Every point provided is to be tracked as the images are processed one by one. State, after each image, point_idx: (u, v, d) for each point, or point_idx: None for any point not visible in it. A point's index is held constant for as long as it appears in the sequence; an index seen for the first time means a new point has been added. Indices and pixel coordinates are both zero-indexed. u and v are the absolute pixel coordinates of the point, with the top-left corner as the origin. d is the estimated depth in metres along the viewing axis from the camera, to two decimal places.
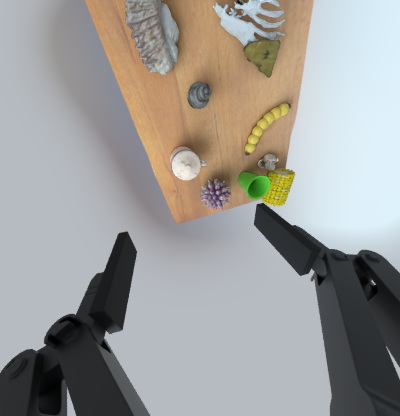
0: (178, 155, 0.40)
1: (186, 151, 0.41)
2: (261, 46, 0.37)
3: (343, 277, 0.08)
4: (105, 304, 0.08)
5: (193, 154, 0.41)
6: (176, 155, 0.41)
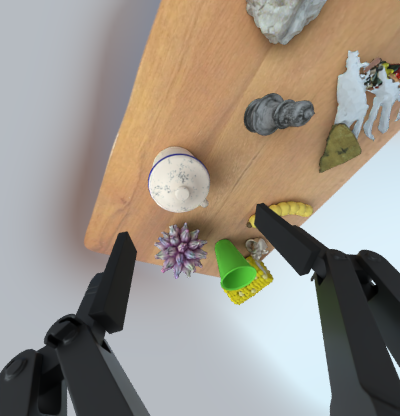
0: (183, 160, 0.19)
1: (201, 166, 0.20)
2: (348, 139, 0.29)
3: (343, 277, 0.08)
4: (104, 304, 0.08)
5: (206, 179, 0.21)
6: (180, 157, 0.19)
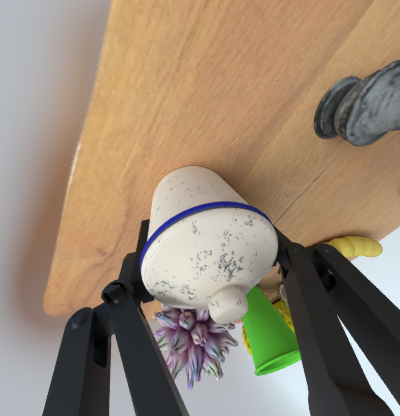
0: (233, 222, 0.07)
1: (269, 228, 0.08)
2: None
3: (303, 268, 0.09)
4: None
5: (274, 252, 0.09)
6: (224, 214, 0.07)
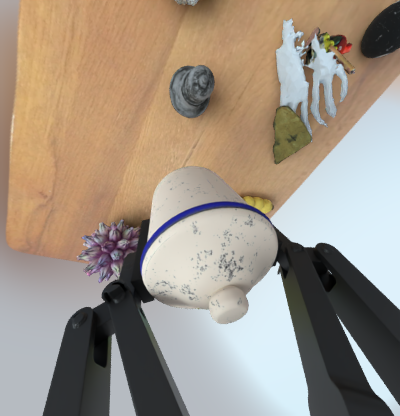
0: (233, 222, 0.07)
1: (269, 228, 0.08)
2: (295, 124, 0.26)
3: (303, 268, 0.09)
4: None
5: (274, 252, 0.09)
6: (224, 214, 0.07)
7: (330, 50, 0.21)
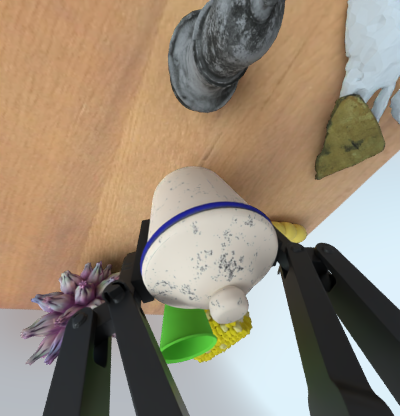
0: (233, 222, 0.07)
1: (269, 228, 0.08)
2: (364, 124, 0.17)
3: (302, 268, 0.09)
4: None
5: (274, 252, 0.09)
6: (224, 214, 0.07)
7: None
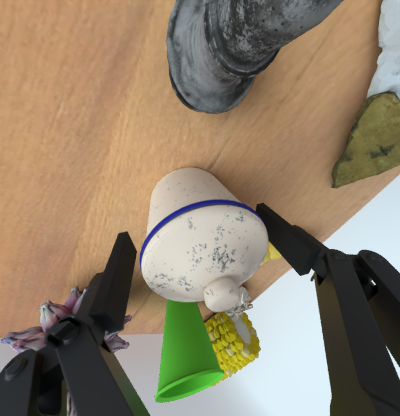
0: (225, 218, 0.08)
1: (258, 223, 0.09)
2: (397, 127, 0.14)
3: (343, 277, 0.08)
4: (105, 303, 0.08)
5: (265, 247, 0.10)
6: (217, 211, 0.08)
7: None
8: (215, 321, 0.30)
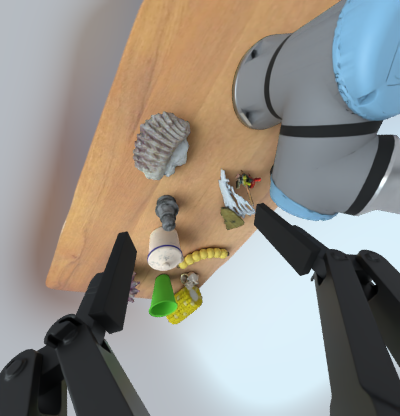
0: (166, 249, 0.36)
1: (176, 250, 0.37)
2: (233, 216, 0.43)
3: (343, 277, 0.08)
4: (105, 304, 0.08)
5: (179, 255, 0.38)
6: (165, 248, 0.36)
7: None
8: (180, 291, 0.58)
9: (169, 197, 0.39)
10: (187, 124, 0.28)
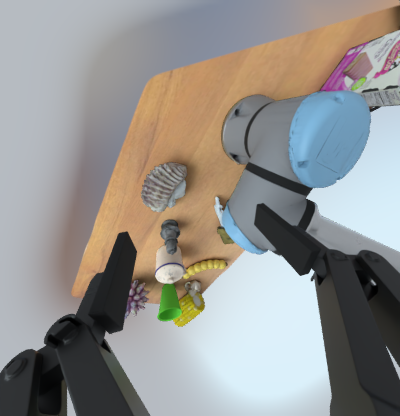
0: (170, 266, 0.43)
1: (179, 266, 0.44)
2: None
3: (343, 277, 0.08)
4: (105, 303, 0.08)
5: (182, 270, 0.45)
6: (169, 265, 0.42)
7: None
8: (185, 297, 0.65)
9: (172, 221, 0.45)
10: (184, 168, 0.35)
